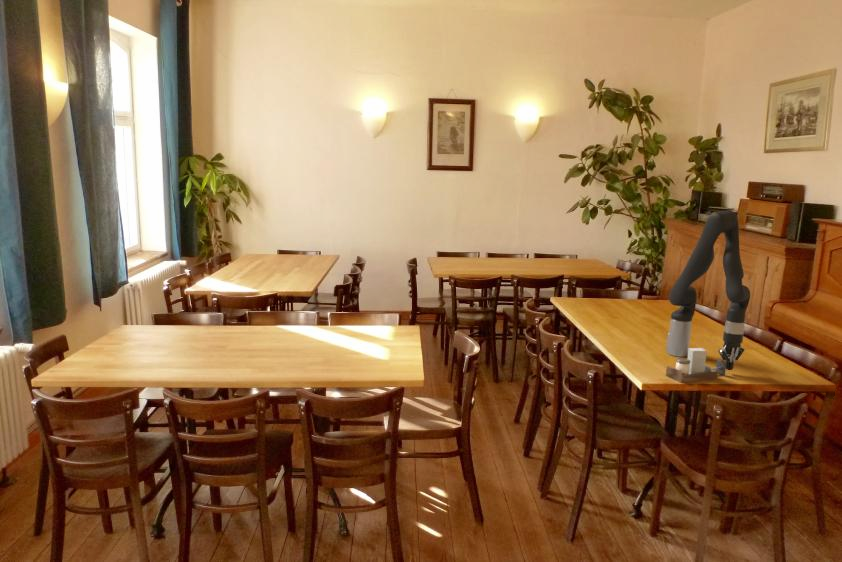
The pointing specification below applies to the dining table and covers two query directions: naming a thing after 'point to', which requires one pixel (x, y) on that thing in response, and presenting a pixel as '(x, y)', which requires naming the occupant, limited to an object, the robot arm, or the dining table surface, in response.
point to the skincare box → (697, 360)
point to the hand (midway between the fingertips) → (729, 369)
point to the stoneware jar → (683, 365)
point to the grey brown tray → (683, 378)
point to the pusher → (717, 367)
